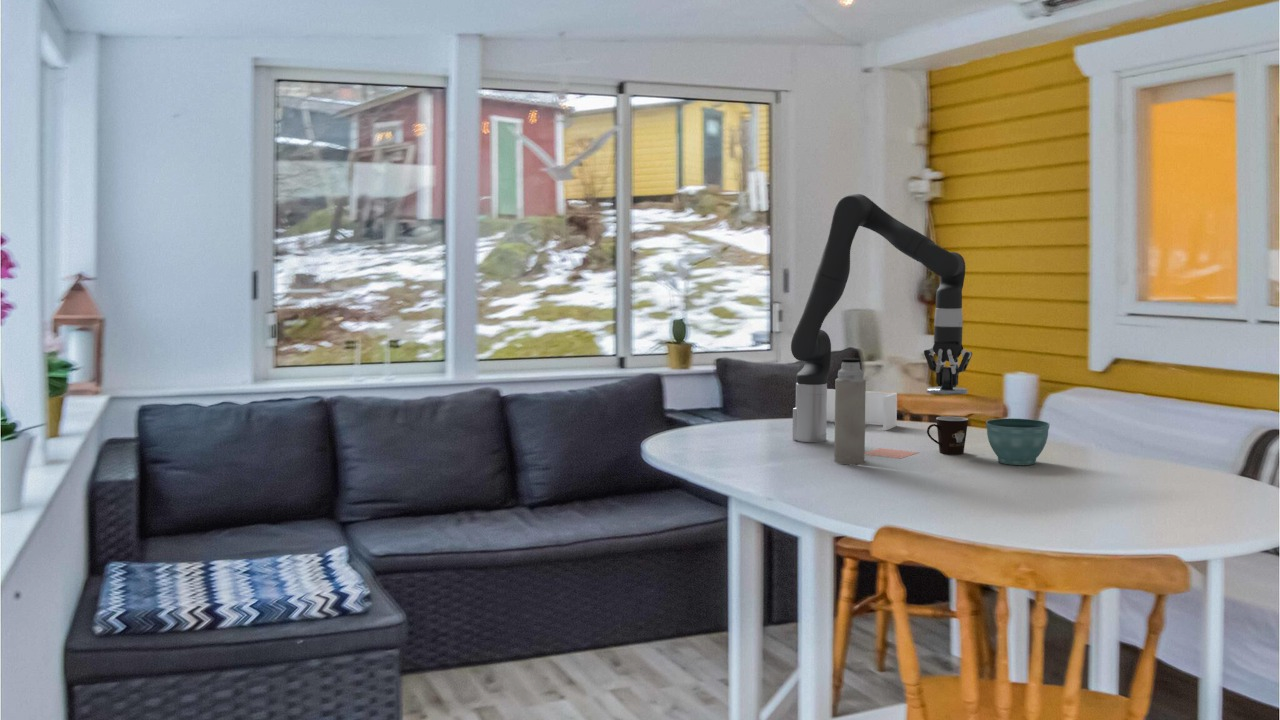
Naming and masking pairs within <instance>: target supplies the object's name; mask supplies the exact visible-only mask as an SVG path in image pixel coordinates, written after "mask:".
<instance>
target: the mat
mask: <svg viewBox="0 0 1280 720" xmlns="http://www.w3.org/2000/svg"><path fill="white" fill-rule="evenodd" d="M919 453H920V452H919V451H912V450H911V451H909V450H903V449H893V448H884V447H880V448H875V449H873V450H869V451H865V456H873V457H874V456H875V457H883V458H891V459H899V460H900V459H904V458H907V457H911V456H913V455H917V454H919Z"/></svg>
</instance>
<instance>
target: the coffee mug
mask: <svg viewBox="0 0 1280 720" xmlns="http://www.w3.org/2000/svg"><path fill="white" fill-rule="evenodd" d="M935 419H936V424H935V423H933V424H932V423H931V424H930V425H929V426H928V427H927V429H926V434H927V436H928V437H929V439H931V440H932V441H933V442H934V443H936V444H937V445H938V452H939V453H940V454H941V455H947V456H961V455H964V453H965V445H966V438H967V431H968V425H969V418H967V417H962V416H938V417H936V418H935ZM932 427H936V430H937V439H938V440H936V439H935V438H933V437H932V436H931V434H930V429H931V428H932Z"/></svg>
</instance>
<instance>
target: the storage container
mask: <svg viewBox="0 0 1280 720" xmlns="http://www.w3.org/2000/svg"><path fill="white" fill-rule="evenodd" d="M897 415H898V392H889V391H888V392H886V391H885V392H884V391H868V390H866V392H865V425H878V426H882V431H888V430H891V429H892V428H895V427H897V423H898V422H897V420H898V418H897ZM827 422H834V423H835V389H834V388H827Z"/></svg>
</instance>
